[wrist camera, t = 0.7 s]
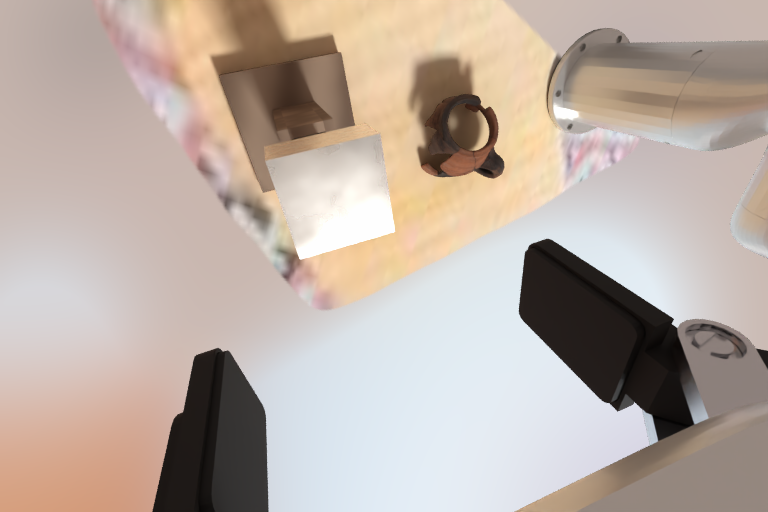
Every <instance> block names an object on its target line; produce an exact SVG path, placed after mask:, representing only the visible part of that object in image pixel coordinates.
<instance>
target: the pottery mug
mask: <svg viewBox="0 0 768 512" xmlns="http://www.w3.org/2000/svg"><path fill="white" fill-rule="evenodd" d="M463 103H466V105H465V107H466V108H467V109H469V110H471V111H473V112H478V111H479V110H480V111H481V112H482V113H483V115H484V116H485V118H486V120H487V123H488V125H489V139H488V142H487V143H486V145H485V146H484V147H483V148H481V149H479V150H476V151H470V150H466V149H463V148H461V147H459V146H458V145H457V144H456V143H455V142H454V141H453V139H452V137H451V135H450V133H449V130H448V124H447V122H448V117H449V114H450V111H451V110H452V109H453V108H454V107H455V106H456V105H459V104H463ZM480 104H481V100H480V98H479V97H478V96H476V95H471V94H470V95H469V94H463V95H459V96H453V97H449V98H447V99H445V100H443V101H442V103H441V104H439V105H438V106H437V107H436V109H435V111H434V113H433V114H432V116H431V117H430V119H428V120H427V122H426V123H425V126H429V127H431V128H434V129H436V130H437V132H436V133H435V134H434V135H433V137H432V139H431V144H430V145H429V151H430V154H431V155H434V154H436V153H440V154H442V153H447V154H451V156H450V157H449V158H448V159H447V160H446V161H444V162H442V163H441V165H440V168H441V169H442V171H440V172H439V171H437V170H435V169H434V168H433V167H432V166H430V165H429V164H428V163H426V164H424V165H422V166H421V167H422V169H423V170H424V171H426V172H427V173H429V174H431V175H434V176H438V177H455V176H461V175H466V174H468V173H471V172H472V171H476V172H477V173H479V174H481V175H483V176H485V177H488V178H496V177H498V176H500V175H501V174H502V172H503V170H504V161H503V159H502V158H501V157H500V156H499V155H497V154H496V152H495V150H494V145H495V143H496V141H497V137H498V122H497V118H496V115H495V113H494V111H493V109H492V108H491V107H488V108H486V109H484V108H483V107H482V106H481V105H480Z"/></svg>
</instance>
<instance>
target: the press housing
mask: <svg viewBox="0 0 768 512" xmlns="http://www.w3.org/2000/svg"><path fill="white" fill-rule="evenodd" d="M219 78H220V80H221V83H222V86H223V88H224V91H225V93H226V96H227V99H228V101H229V104H230V107H231V109H232V112H233V115H234V117H235V120H236V123H237V125H238V128H239V131H240V133H241V136H242V138H243V141H244V144H245V146H246V149H247V152H248V154H249V157H250V160H251V162H252V165H253V168H254V170H255V173H256V175H257V178H258V181H259V183H260V186H261V189H262V191H263V192H267V191H271V190H275V187H274V185H273V182H272V179H271V176H270V173H269V170H268V168H267V165H266V162H265V150H264V146H268V145H273V144H277V143H281V142H286V141H290V140H294V139H295V138H299V137H303V136H308V135H312V134H321V133H325V132H329V131H334V130H338V129H342V128H347V127H351V126H355V124H354V118H353V113H352V108H351V102H350V97H349V92H348V86H347V81H346V76H345V71H344V65H343V60H342V55H341V52H338V53H332V54H327V55H322V56H316V57H311V58H306V59H301V60H295V61H290V62H285V63H279V64H274V65H269V66H264V67H258V68H253V69H248V70H242V71H237V72H232V73H227V74H221V75H219Z"/></svg>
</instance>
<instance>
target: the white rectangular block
mask: <svg viewBox="0 0 768 512" xmlns="http://www.w3.org/2000/svg"><path fill="white" fill-rule="evenodd" d="M264 150H265V162H266V165H267V168H268V170H269V173H270V176H271V179H272V182H273V185H274V187H275V190H276V193H277V196H278V199H279V201H280V204H281V207H282V210H283V213H284V216H285V218H286V221H287V224H288V227H289V230H290V233H291V235H292V238H293V241H294V244H295V247H296V250H297V252H298V255H299V258H300V260H301V259H304V258H308V257H311V256H314V255H318V254H321V253H324V252H328V251H331V250H335V249H338V248H341V247H345V246H348V245H352V244H355V243H358V242H362V241H365V240H369V239H372V238H375V237H379V236H382V235H386V234H389V233H392V232H395V229H394V222H393V215H392V209H391V202H390V195H389V188H388V182H387V175H386V168H385V162H384V155H383V148H382V142H381V135H380V133H379V132H377V131H376V130H375V129H373V128H372V127H370V126H369V125H367V124H366V123H364V124H360V125H355V126H351V127H347V128H342V129H338V130H334V131H329V132H325V133H321V134H312V135H308V136H303V137H299V138H295V139H294V140H290V141H286V142H281V143H277V144H273V145H268V146H264Z"/></svg>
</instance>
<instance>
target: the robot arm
mask: <svg viewBox="0 0 768 512" xmlns="http://www.w3.org/2000/svg"><path fill="white" fill-rule="evenodd" d="M548 109H549V114H550V117H551V119H552V121H553V123H554V124H555V126H556V127H557V128H559V129H560V130H562V131H564V132H567V133H571V134H582V133H586V132H589V131H591V130H593V129H595V128H596V127H599V128H603V129H608V130H612V131H616V132H620V133H625V134H629V135H633V136H637V137H642V138H646V139H650V140H655V141H659V142H663V143H668V144H672V145H677V146H681V147H685V148H689V149H694V150H701V151H714V150H722V149H727V148H731V147H735V146H738V145H741V144H744V143H747V142H750V141H752V140H755V139H757V138H760V137H763V136H765V135H767V134H768V41H727V42H659V43H658V42H657V43H630V42H629V40H628V39H627V37H626V36H625V35H624V34H623V33H622V32H620V31H619V30H615V29H611V28H607V29H598V30H593V31H591V32H589V33H587V34H585V35H584V36H582V37H581V38H579V39H578V40H577V41H576V42H575V43H574V44H573V45H572V46H571V47H570V48H569V49H568V50H567V51H566V53H565V54H564V55H563V57H562V58H561V60H560V62H559V64H558V65H557V67H556V70H555V72H554V74H553V77H552V80H551V83H550V87H549V93H548ZM730 230H731V233H732V235H733V237H734V238H735V240H736V241H737V242H739V243H740V244H741V245H742V246H744V247H745V248H747V249H748V250H750V251H752V252H754V253H756V254H758V255H761V256H763V257H766V258H768V146H767V149H766V151H765V152H764V157H763V158H762V161H761V162H760V164H759V166H758V168H757V170H756V171H755V173H754V175H753V177H752V179H751V181H750V182H749V184H748V186H747V188H746V190H745V192H744V193H743V195H742V197H741V199H740V201H739V203H738V205H737V207H736V209H735V211H734V213H733V215H732V218H731V223H730ZM519 314H520V317H521V318H522V320H523V321H524V322H525V323H526V324H527V325H528V326H529V327H530V328H531V329H532V330H533V331H534V332H535V333H536V334H537V335H538V336H539V337H540V338H541V339H542V340H543V341H544V342H545V343H546V344H547V345H548V346H549V347H550V348H551V350H553V351H554V353H555V354H556V355H557V356H558V357H559V358H560V359H562V360H563V362H564V363H565V364H566V365H567V366H568V367H569V368H571V370H572V371H573V372H574V373H575V374H576V375H577V376H578V377H579V378H580V379H581V380H582V381H583V382H584V383H585V384H586V385H587V386H588V387H589V388H590V389H591V390H592V391H593V392H594V393H595V394H596V395H597V396H598V397H599V398H600V399H601V400H602V401H604V402H606V403H610V404H611V405H612V406H613V407H614V408H615V409H616V410H617V411H620V410H622V409H625V408H627V407H629V406H631V405H633V404H634V402H635V403H636V404H637V405H638V406H639V407H640V408H641V409H642V411H643V416H644V421H645V425H646V430H647V434H648V439H649V444H650V446H648V447H646V448H644V449H642V450H640V451H637V452H635V453H633V454H631V455H629V456H627V457H625V458H623V459H621V460H619V461H617V462H615V463H613V464H611V465H609V466H607V467H605V468H603V469H601V470H599V471H596V472H594V473H592V474H590V475H588V476H586V477H584V478H582V479H580V480H578V481H576V482H574V483H572V484H570V485H568V486H566V487H564V488H562V489H560V490H558V491H556V492H553V493H552V494H549V495H548V496H545V497H543V498H542V499H540V500H537V501H535V502H533V503H531V504H529V505H527V506H525V507H523V508H521V509H519V510H517V511H515V512H768V351H766V350H761V349H756V348H755V346H754V345H753V344H752V343H751V342H750V340H749V339H748V338H746V337H745V336H744V335H743V334H741V333H740V332H738V331H736V330H734V329H732V328H731V327H729V326H726V325H723V324H721V323H718V322H714V321H709V320H704V319H692V320H686V321H685V322H683V323H681V324H680V325H679V327H678V328H676V327H675V326H674V325H672V322H673V320H674V319H673V318H672V317H670V316H669V315H667V314H666V313H664V312H662V311H661V310H659V309H658V308H656V307H655V306H653V305H652V304H650V303H648V302H647V301H645V300H644V299H642V298H641V297H639V296H637V295H636V294H634V293H633V292H631V291H630V290H628V289H627V288H625V287H624V286H622V285H621V284H619V283H617V282H616V281H614V280H613V279H611V278H610V277H608V276H607V275H605V274H603V273H602V272H600V271H599V270H597V269H596V268H594V267H593V266H591V265H589V264H588V263H587V262H585V261H583V260H582V259H580V258H579V257H577V256H576V255H574V254H573V253H571V252H570V251H568V250H567V249H565V248H563V247H562V246H560V245H559V244H557V243H556V242H554V241H553V240H550V239H545V240H542V241H539V242H536V243H533V244H531V245H530V246H529V247H528V250H527V251H526V252H525V258H524V267H523V276H522V286H521V294H520V304H519ZM267 479H268V478H267V442H266V415H265V410H264V408H263V405H262V403H261V402H260V400H259V399H258V397H257V395H256V394H255V392H254V390H253V389H252V387H251V386H250V384H249V382H248V381H247V379H246V377H245V376H244V374H243V373H242V371H241V369H240V368H239V366H238V365H237V363H236V361H235V360H234V358H233V356H232V355H231V353H230V352H229V351H224V352H223V351H222V350H221V349H219V348H216V349H213V350H211V351H207V352H204V353H201V354H198V355H196V356H195V358H194V361H193V366H192V371H191V376H190V381H189V386H188V391H187V396H186V402H185V406H184V411H183V413H180V414H178V415H177V416H176V417H175V418H174V420H173V423H172V426H171V431H170V435H169V440H168V445H167V449H166V453H165V458H164V462H163V467H162V471H161V476H160V480H159V485H158V489H157V494H156V498H155V503H154V507H153V512H268V480H267Z"/></svg>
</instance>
